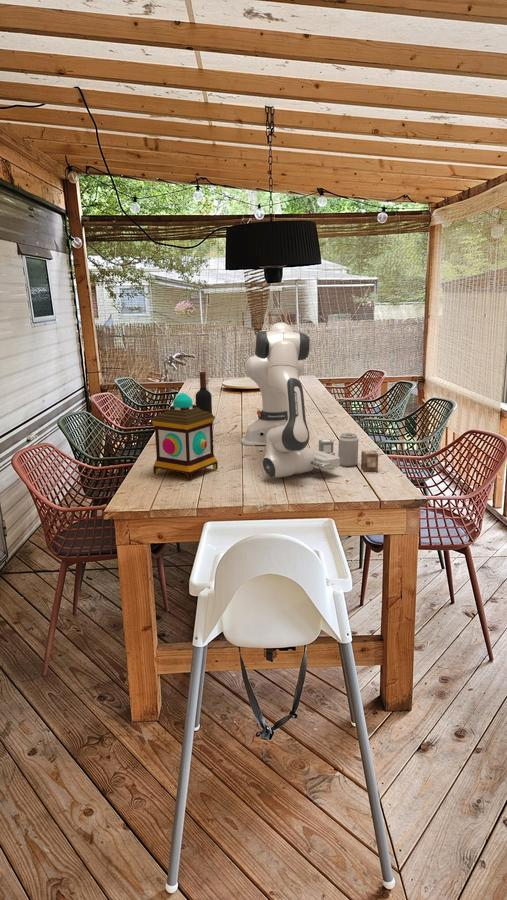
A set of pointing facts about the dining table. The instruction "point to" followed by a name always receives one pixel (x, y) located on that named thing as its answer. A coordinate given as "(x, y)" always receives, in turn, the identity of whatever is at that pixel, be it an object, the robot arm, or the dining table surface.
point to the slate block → (326, 445)
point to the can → (348, 449)
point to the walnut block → (369, 461)
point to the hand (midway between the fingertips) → (332, 454)
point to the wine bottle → (204, 395)
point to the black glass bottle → (208, 390)
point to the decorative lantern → (184, 438)
